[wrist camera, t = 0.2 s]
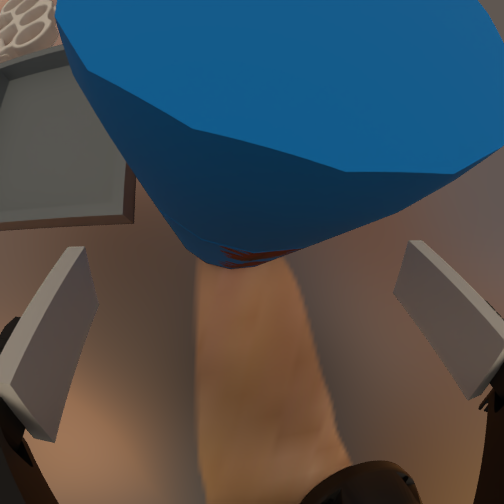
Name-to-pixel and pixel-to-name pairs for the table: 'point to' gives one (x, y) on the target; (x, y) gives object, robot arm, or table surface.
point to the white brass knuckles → (26, 27)
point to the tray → (56, 150)
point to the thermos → (287, 110)
